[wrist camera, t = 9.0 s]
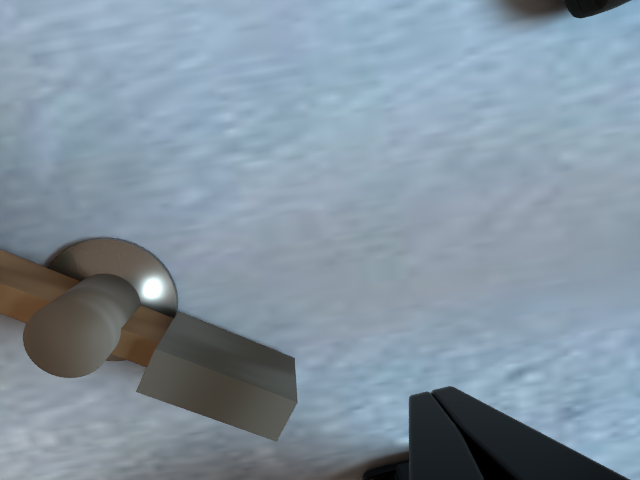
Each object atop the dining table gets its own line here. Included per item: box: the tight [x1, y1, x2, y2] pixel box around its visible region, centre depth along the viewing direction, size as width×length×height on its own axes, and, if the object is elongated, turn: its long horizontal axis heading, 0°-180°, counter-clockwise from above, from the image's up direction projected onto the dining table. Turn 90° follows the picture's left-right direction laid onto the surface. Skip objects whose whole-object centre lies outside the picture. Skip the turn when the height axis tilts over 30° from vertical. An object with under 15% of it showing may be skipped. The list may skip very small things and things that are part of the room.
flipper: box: [0, 250, 297, 441], centre depth 16 cm, size 22×3×4 cm, turn 63°
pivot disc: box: [48, 238, 178, 361], centre depth 19 cm, size 6×6×1 cm
